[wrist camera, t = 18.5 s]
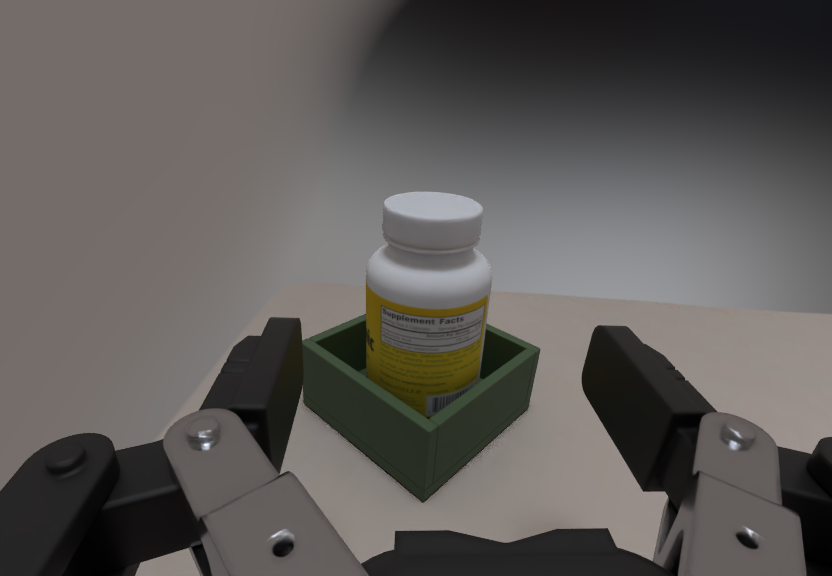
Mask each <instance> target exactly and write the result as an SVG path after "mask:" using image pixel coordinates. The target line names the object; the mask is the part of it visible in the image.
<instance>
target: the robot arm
mask: <svg viewBox="0 0 832 576" xmlns="http://www.w3.org/2000/svg"><path fill="white" fill-rule="evenodd" d="M303 373H304V367H303V350H302V333H301V322H300V319H299V318H276V317H271V318H269V320H268V322H267V324H266V327H265V329H264V331H263V333H262V335H261V336H247V337H246V338H245V339H243V340H242V341H241V342H239V343H238V344H237V345H235V346H234V347H233V349H232V351H231V353H230V355H229V356H228V358H227V362H225V364H224V365H223V367H222V369H221V373H219V375H218V376H217V378H216V380H215V382H214V384H213V386H212V387H211V389H210V391H209V393H208V395H207V397H206V398H205V400H204V402H203V404H202V406H201V407H200V409H199V411H197V412H194V413H191V414H189V415H186V416H185V417H183V418H181V419H180V420H178V421H177V422H175V423H174V424H173V425H172V426H171V427H170V428H169V430H168V431H167V433H166V434H165V436H164V439H162V440H159V441H156V442H153V443H149V444H144V445H140V446H135V447H131V448H126V449H122V450H117V451H115V449H114V446H113V443H112V441H111V440H110V439H109V438H108V437H106V436H104V435H101V434H96V433H84V434H77V435H72V436H68V437H65V438H62V439H60V440H57V441H55V442H53V443H50V444H49V445H47V446H45V447H43V448H41V449H40V450H39V451H37V452H36V453H34V454H33V455H32V456H31V457H30V458H28V459H27V460H26V461H25V463H24V464H23V465H22V466H21V467H20V468H19V470H18V471H17V472H16V473H15V474H14V476H13V477H12V478H11V479H10V480H9V482H8V483H7V484H6V485H5V487H4V488H3V489H2V490H1V491H0V576H135V574H136V571H137V569H138V567H139V565H140V562H144V561H147V560H150V559H153V558H157V557H160V556H163V555H167V554H170V553H173V552H176V551H180V550H183V549H186V548H189V550H190V552H191V555H192V557H193V560H194V562H195V564H196V567H197V569H198V571H199V574H200V576H832V437H826V438H823V439H821V440H820V441H819V442H818V444H817V446H816V448H815V449H814V451H813V453H812V454H809V453H805V452H800V451H796V450H791V449H787V448H783V447H778V446H777V445H776V443H775V441H774V440H773V439H772V437H771V436H770V435H769V434H768V433H766V432H765V431H764V430H763V429H761V428H760V427H758V426H757V425H755V424H753V423H752V422H750V421H748V420H746V419H743V418H741V417H738V416H735V415H732V414H727V413H721V412H717V411H716V410H715V409H714V408H713V407H712V406H711V405H710V404H709V403H708V401H707V400H706V399H705V398H704V397H703V396H702V395H701V394H700V393H699V392H698V391H697V390H696V389H695V388H694V387H693V386H692V385H691V384H690V383H689V382H688V381H685V377H684V376H683V375H682V374H681V373H680V372H679V371H678V370H675V367H674V366H673V365H672V364H671V363H670V362H669V361H668V360H667V358H666V357H665V356H664V355H662V354H661V353H659V352H657V351H656V350H654V349H653V348H651V347H649V346H648V345H646V344H643V343H642V342H641V341H640V339H639V338H638V337H637V336H636V335H635V334H634V333H633V332H632V331H631V330H630V329H629V328H628V327H626V326H601V325H600V326H597V327H596V328H595V329H594V331H593V334H592V337H591V341H590V345H589V349H588V352H587V356H586V360H585V364H584V367H583V371H582V387H583V391H584V393H585V395H586V397H587V399H588V400H589V402H590V404H591V405H592V407H593V409H594V410H595V412H596V414H597V415H598V417H599V419H600V420H601V422H602V424H603V425H604V427H605V429H606V430H607V432H608V434H609V435H610V437H611V439H612V440H613V442H614V444H615V445H616V447H617V449H618V450H619V452H620V454H621V455H622V457H623V459H624V460H625V462H626V464H627V465H628V467H629V469H630V470H631V472H632V474H633V475H634V477H635V479H636V480H637V482H638V484H639V485H640V487H641V489H642V490H643V492H651V491H665V492H666V494H667V495H668V499H667V501H666V503H665V506H664V509H663V514H662V518H661V523H660V528H659V533H658V538H657V542H656V547H655V552H654V557H653V561H651V560H649V559H647V558H644V557H642V556H640V555H638V554H635V553H632V552H629V551H626V550H624V549H620V548H617V547H616V545H615V543H614V541H613V539H612V536H611V534H610V532H609V530H608V528H604V529H555V530H552V531H549V532H545V533H542V534H538V535H535V536H531V537H528V538H524V539H521V540H518V541H514V542H510V543H503V542H497V541H493V540H489V539H484V538H480V537H475V536H471V535H467V534H462V533H458V532H453V531H449V530H444V531H395V544H394V550H391V551H387V552H384V553H382V554H379V555H377V556H375V557H372V558H370V559H369V560H367V561H365V562H364V563H362V564H360V563H359V561H358V560H357V559H356V557H355V556H354V554H353V553H352V552H351V550H350V549H349V548H348V546H347V545H346V544H345V542H344V541H343V540H342V538H341V537H340V535H339V534H338V533H337V531H336V530H335V529H334V527H333V526H332V525H331V523H330V522H329V521H328V519H327V518H326V516H325V515H324V514H323V512H322V511H321V510H320V508H319V507H318V506H317V504H316V503H315V501H314V500H313V499H312V497H311V496H310V495H309V493H308V492H307V491H306V489H305V488H304V487H303V485H302V484H301V482H300V481H299V480H298V478H297V477H296V476H295V475H294V474H293V473H291V472H289V471H287V472H285V473H283V474H281V475H279V474H280V470H281V467H282V463H283V459H284V455H285V451H286V448H287V444H288V440H289V436H290V433H291V429H292V425H293V421H294V417H295V414H296V410H297V406H298V402H299V399H300V395H301V391H302V385H303Z"/></svg>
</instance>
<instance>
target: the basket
mask: <svg viewBox="0 0 832 576" xmlns="http://www.w3.org/2000/svg"><path fill="white" fill-rule="evenodd" d="M302 350H303V367H304V373H303V393H304V394H303V398H304V404H306V405H307V406H308V407H309V408H310V409H312V410H313V411H314V412H315V413H317V414H318V415H319V416H320V417H321V418H323V419H324V420H325V421H326V422H327V423H329V424H330V425H331V426H332V427H333V428H335V429H336V430H337V431H338V432H339V433H341V434H342V435H343V436H344V437H345V438H347V439H348V440H349V441H350V442H351V443H353V444H354V445H355V446H356V447H358V448H359V449H360V450H361V451H362V452H364V453H365V454H366V455H367V456H368V457H370V458H371V459H372V460H373V461H374V462H376V463H377V464H378V465H379V466H380V467H382V468H383V469H384V470H385V471H386V472H388V473H389V474H390V475H391V476H392V477H394V478H395V479H396V480H397V481H398V482H400V483H401V484H402V485H403V486H405V487H406V488H407V489H408V490H409V491H411V492H412V493H413V494H414V495H415V496H417V497H418V498H419V499H420V500H421V501H425V500H426V499H427V498H428V497H429V496H430V495H431V494H433V493H434V492H435V491H436V490H437V489H438V488H439V487H440V486H441V485H443V484H444V483H445V482H446V481H447V480H448V479H449V478H450V477H451V476H453V475H454V474H455V473H456V472H457V471H458V470H459V469H460V468H462V467H463V466H464V465H465V464H466V463H467V462H468V461H469V460H470V459H472V458H473V457H474V456H475V455H476V454H477V453H478V452H479V451H481V450H482V449H483V448H484V447H485V446H486V445H487V444H488V443H489V442H491V441H492V440H493V439H494V438H495V437H496V436H497V435H498V434H499V433H501V432H502V431H503V430H504V429H505V428H506V427H507V426H508V425H510V424H511V423H512V422H513V421H514V420H515V419H516V418H517V417H518V416H520V415H521V414H522V413H523V412H524V411H525V410H526V409H527V408H528V407H529V402H530V397H531V392H532V387H533V383H534V378H535V373H536V368H537V363H538V359H539V354H540V348H538V347H536V346H534V345H532V344H529V343H527V342H525V341H523V340H521V339H519V338H517V337H514V336H512V335H510V334H508V333H506V332H504V331H501V330H499V329H497V328H495V327H493V326H491V325H488V324H486V330H485V338H484V346H483V354H482V362H481V370H480V378H479V383H478V384H477V385H475V386H474V387H473V388H471V389H470V390H468V391H467V392H466V393H464V394H463V395H461V396H460V397H459V398H457V399H456V400H455V401H453V402H452V403H450V404H449V405H448V406H446V407H445V408H443V409H442V410H441V411H439V412H438V413H437V414H435V415H434V416H432V417H431V418H430V419H427V418H426V417H424V416H423V415H421V414H420V413H418V412H417V411H415V410H414V409H412V408H411V407H409V406H408V405H406V404H405V403H403V402H402V401H400V400H399V399H398V398H396V397H395V396H393V395H392V394H390V393H389V392H387V391H386V390H384V389H383V388H381V387H380V386H378V385H377V384H375V383H374V382H372V381H371V380H369V379H368V378H367V377H366V314H364V315H362V316H359V317H357V318H355V319H352V320H350V321H348V322H345V323H343V324H341V325H338V326H336V327H334V328H331V329H329V330H327V331H324V332H322V333H319V334H317V335H315V336H312V337H310V338H308V339H305V340H303V341H302Z"/></svg>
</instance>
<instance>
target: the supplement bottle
mask: <svg viewBox="0 0 832 576" xmlns="http://www.w3.org/2000/svg"><path fill="white" fill-rule="evenodd" d="M482 214H483V210H482V206H481V205H480V204H479V203H478V202H476V201H474V200H472V199H470V198H466V197H463V196H458V195H455V194H449V193H441V192H409V193H403V194H397V195H394V196H391V197H389V198H387V199H386V200H385V202H384V205H383V224H382V229H383V236H384V239H385V240H386V241H387V242H388V244H386V245H384V246H382V247H381V248H379V249H378V250H377V251H376V252H375V253H374V254H373V255H372V256H371V258H370V260H369V262H368V264H367V269H366V377H367V378H368V379H369V380H371V381H372V382H374V383H375V384H377V385H378V386H380V387H381V388H383V389H384V390H386V391H387V392H389V393H390V394H392V395H393V396H395V397H396V398H398V399H399V400H400V401H402V402H403V403H405V404H406V405H408V406H409V407H411V408H412V409H414V410H415V411H417V412H418V413H420V414H421V415H423V416H424V417H426V418H427V419H430V418H431V417H432V416H434V415H435V414H437V413H438V412H439V411H441V410H442V409H443V408H445V407H446V406H448V405H449V404H450V403H452V402H453V401H455V400H456V399H457V398H459V397H460V396H461V395H463V394H464V393H466V392H467V391H468V390H470V389H471V388H473V387H474V386H475V385H477V384H478V383H479V378H480V370H481V362H482V354H483V346H484V338H485V330H486V322H487V315H488V307H489V299H490V292H491V284H492V270H491V267H490V265H489V263H488V261H487V259H486V258H485V257H484V256H483V255H482V254H481V253H480V252H478V251H477V250H475V249H474V247H475V246H477V244H478V243H479V240H480V237H479V236H480V234H481V225H482Z"/></svg>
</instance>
